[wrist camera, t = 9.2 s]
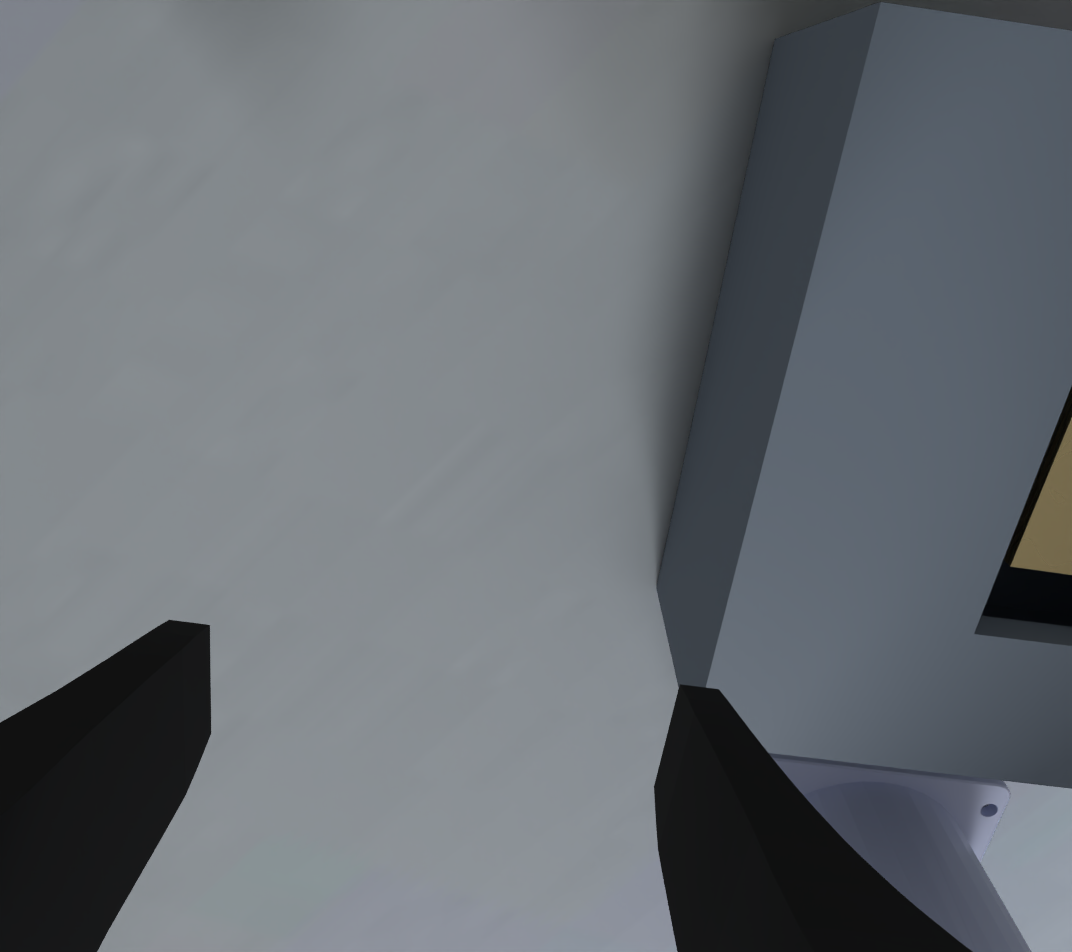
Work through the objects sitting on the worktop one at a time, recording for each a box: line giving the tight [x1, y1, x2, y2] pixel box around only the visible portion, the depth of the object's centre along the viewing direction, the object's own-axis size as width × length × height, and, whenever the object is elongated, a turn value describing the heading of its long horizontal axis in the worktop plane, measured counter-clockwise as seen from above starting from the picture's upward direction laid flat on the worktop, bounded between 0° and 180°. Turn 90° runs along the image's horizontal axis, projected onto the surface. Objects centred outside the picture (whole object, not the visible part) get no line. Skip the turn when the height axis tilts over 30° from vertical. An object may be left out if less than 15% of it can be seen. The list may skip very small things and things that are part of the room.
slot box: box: [657, 2, 1072, 788], centre depth 19 cm, size 14×14×6 cm
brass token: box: [1003, 386, 1072, 575], centre depth 19 cm, size 5×2×5 cm, turn 172°
